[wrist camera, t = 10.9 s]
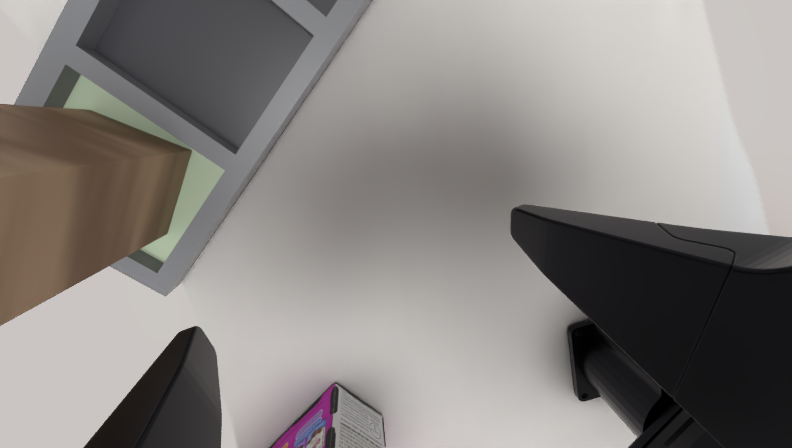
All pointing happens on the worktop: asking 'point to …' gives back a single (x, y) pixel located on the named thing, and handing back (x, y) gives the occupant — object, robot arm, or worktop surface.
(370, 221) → the worktop surface
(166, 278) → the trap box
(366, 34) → the worktop surface
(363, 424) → the candy bar box
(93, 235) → the walnut block
